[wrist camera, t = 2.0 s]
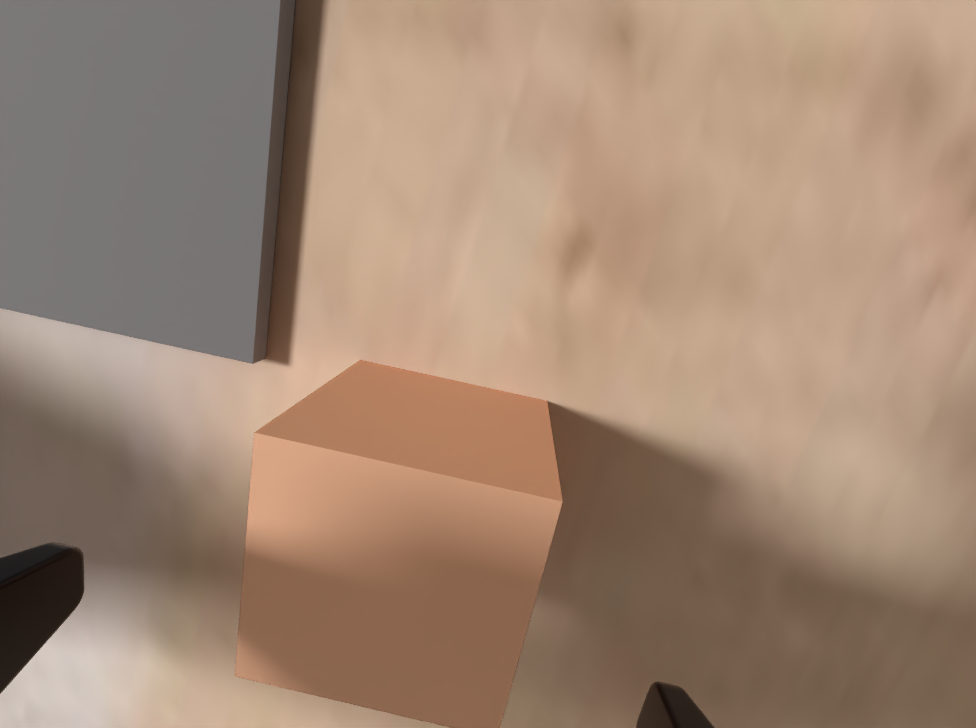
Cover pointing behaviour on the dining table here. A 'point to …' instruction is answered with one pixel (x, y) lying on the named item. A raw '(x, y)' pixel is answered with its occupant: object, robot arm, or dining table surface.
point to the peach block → (398, 544)
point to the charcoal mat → (144, 166)
